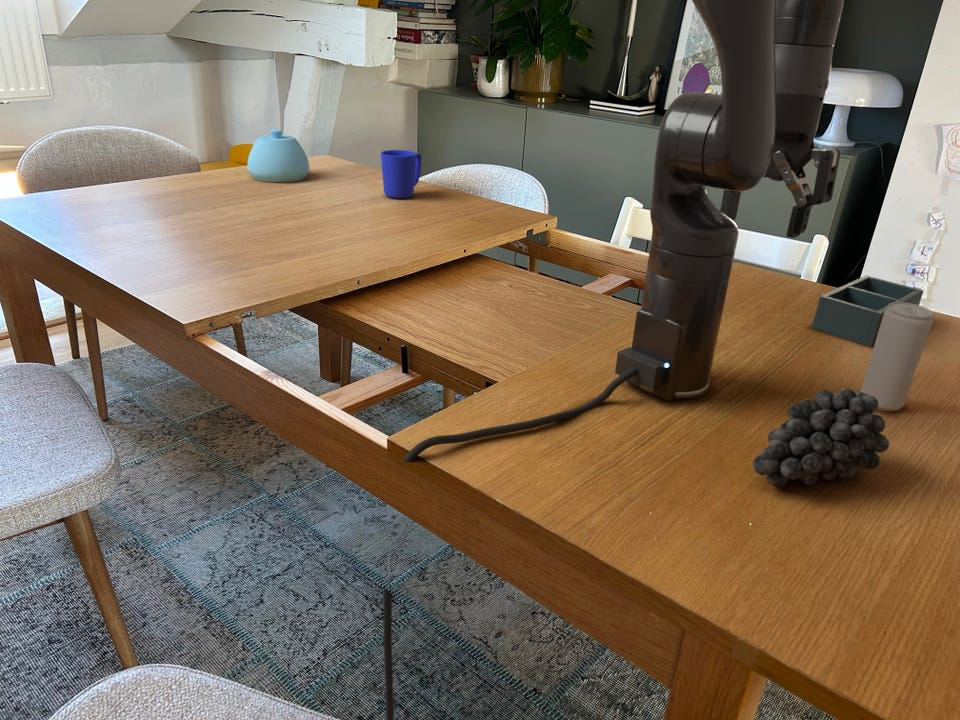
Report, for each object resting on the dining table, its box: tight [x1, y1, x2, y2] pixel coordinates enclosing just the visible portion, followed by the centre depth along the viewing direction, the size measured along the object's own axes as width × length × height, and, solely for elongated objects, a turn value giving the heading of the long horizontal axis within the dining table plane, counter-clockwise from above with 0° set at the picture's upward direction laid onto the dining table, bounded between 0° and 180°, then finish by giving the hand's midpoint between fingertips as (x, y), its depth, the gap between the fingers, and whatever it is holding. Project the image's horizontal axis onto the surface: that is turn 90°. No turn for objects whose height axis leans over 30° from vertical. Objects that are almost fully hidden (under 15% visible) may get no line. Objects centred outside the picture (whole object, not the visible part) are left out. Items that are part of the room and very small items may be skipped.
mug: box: [380, 149, 422, 200], centre depth 172 cm, size 8×12×10 cm
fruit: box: [752, 387, 890, 488], centre depth 71 cm, size 9×8×15 cm
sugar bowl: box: [246, 128, 311, 183], centre depth 183 cm, size 15×15×12 cm
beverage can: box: [859, 302, 934, 412], centre depth 85 cm, size 5×5×12 cm
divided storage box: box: [811, 274, 924, 348], centre depth 110 cm, size 9×16×5 cm, turn 132°
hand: (760, 228), depth 90 cm, fingers open, 8 cm apart
